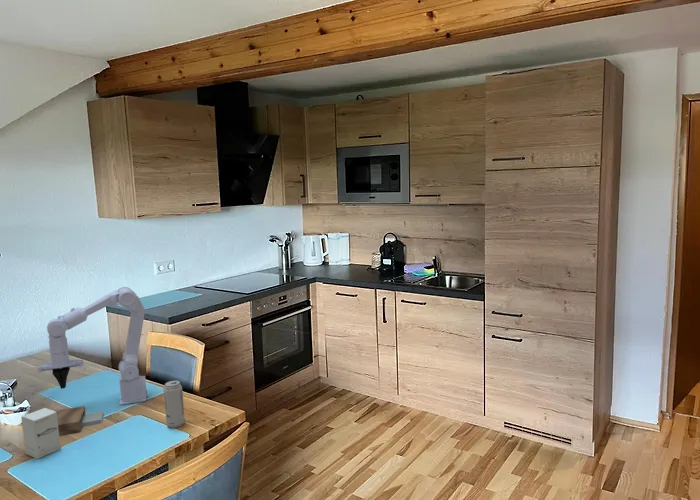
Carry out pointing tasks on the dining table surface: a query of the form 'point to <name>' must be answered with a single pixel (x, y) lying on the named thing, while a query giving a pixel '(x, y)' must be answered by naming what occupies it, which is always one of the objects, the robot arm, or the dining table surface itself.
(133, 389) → the robot arm
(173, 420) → the energy drink can
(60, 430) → the walnut shelf
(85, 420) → the slate tile
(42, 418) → the supplement box
